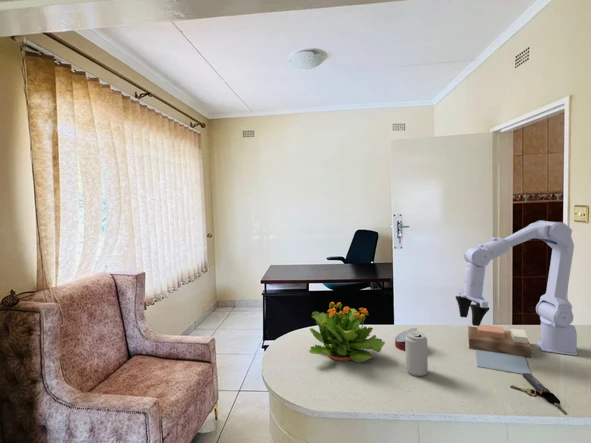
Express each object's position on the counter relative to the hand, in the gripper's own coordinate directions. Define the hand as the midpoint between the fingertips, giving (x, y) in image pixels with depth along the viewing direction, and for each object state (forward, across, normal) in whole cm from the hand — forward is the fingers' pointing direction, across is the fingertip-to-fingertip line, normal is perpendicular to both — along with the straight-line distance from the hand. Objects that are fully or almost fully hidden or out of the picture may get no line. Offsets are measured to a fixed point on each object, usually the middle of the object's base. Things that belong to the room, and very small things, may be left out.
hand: (469, 321), depth 114 cm
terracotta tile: (+6, -4, +11) cm, 13 cm away
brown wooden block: (+9, -2, +12) cm, 15 cm away
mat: (+10, +10, +6) cm, 15 cm away
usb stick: (+10, +23, +7) cm, 26 cm away
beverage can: (+13, +12, -22) cm, 29 cm away
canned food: (+13, -5, -19) cm, 23 cm away
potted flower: (+16, -2, -44) cm, 47 cm away
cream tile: (+5, +1, +18) cm, 18 cm away
